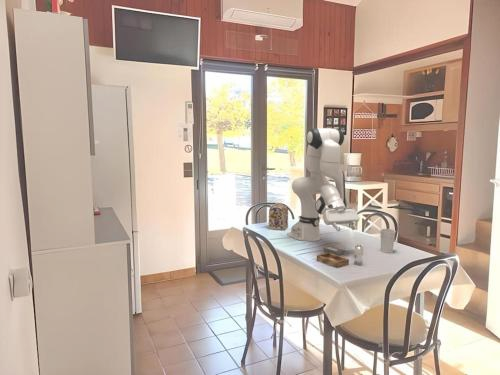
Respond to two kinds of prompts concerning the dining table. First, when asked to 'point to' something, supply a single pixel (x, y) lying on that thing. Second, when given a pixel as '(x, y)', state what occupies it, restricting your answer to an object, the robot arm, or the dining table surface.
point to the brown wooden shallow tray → (332, 260)
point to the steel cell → (358, 255)
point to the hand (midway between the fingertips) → (346, 229)
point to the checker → (334, 250)
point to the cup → (387, 240)
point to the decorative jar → (278, 217)
